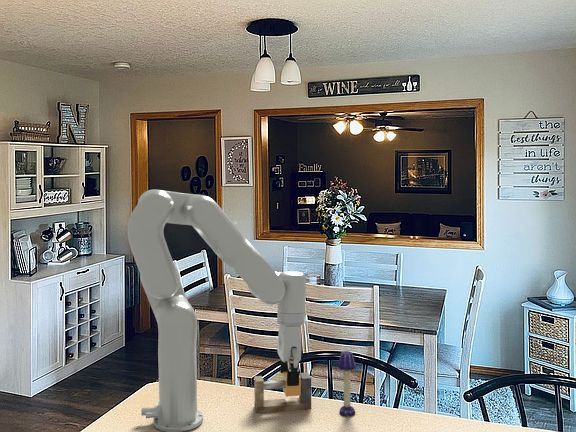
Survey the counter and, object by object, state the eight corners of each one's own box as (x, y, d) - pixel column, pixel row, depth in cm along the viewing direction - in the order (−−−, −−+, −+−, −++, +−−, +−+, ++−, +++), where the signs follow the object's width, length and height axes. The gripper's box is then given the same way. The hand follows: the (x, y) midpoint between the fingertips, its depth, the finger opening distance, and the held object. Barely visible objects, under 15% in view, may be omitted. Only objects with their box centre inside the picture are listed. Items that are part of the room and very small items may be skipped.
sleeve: (286, 396, 152) (286, 378, 152) (282, 389, 157) (282, 372, 157) (300, 395, 153) (300, 377, 153) (296, 388, 158) (296, 371, 158)
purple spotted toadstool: (354, 417, 148) (354, 355, 147) (336, 416, 149) (337, 354, 148) (355, 410, 153) (356, 350, 152) (338, 409, 154) (339, 348, 153)
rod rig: (256, 412, 152) (256, 381, 151) (254, 406, 156) (254, 376, 155) (311, 408, 154) (311, 378, 154) (307, 402, 159) (307, 372, 158)
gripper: (272, 310, 161) (270, 369, 163) (283, 325, 145) (281, 391, 146) (298, 309, 163) (296, 368, 164) (311, 325, 146) (309, 390, 147)
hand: (289, 379), depth 155 cm, fingers open, 9 cm apart
